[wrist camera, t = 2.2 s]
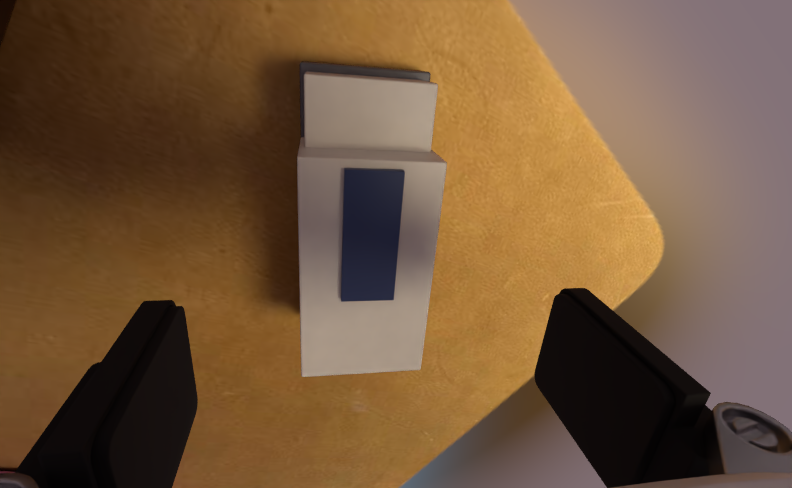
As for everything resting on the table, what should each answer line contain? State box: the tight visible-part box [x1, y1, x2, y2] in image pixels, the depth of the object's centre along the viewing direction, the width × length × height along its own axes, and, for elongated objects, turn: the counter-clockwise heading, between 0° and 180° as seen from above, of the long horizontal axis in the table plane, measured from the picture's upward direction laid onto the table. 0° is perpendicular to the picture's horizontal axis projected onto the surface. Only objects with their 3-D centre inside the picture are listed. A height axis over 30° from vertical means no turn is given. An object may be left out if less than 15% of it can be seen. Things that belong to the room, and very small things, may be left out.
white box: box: [297, 61, 447, 377], centre depth 17 cm, size 12×5×5 cm, turn 175°
